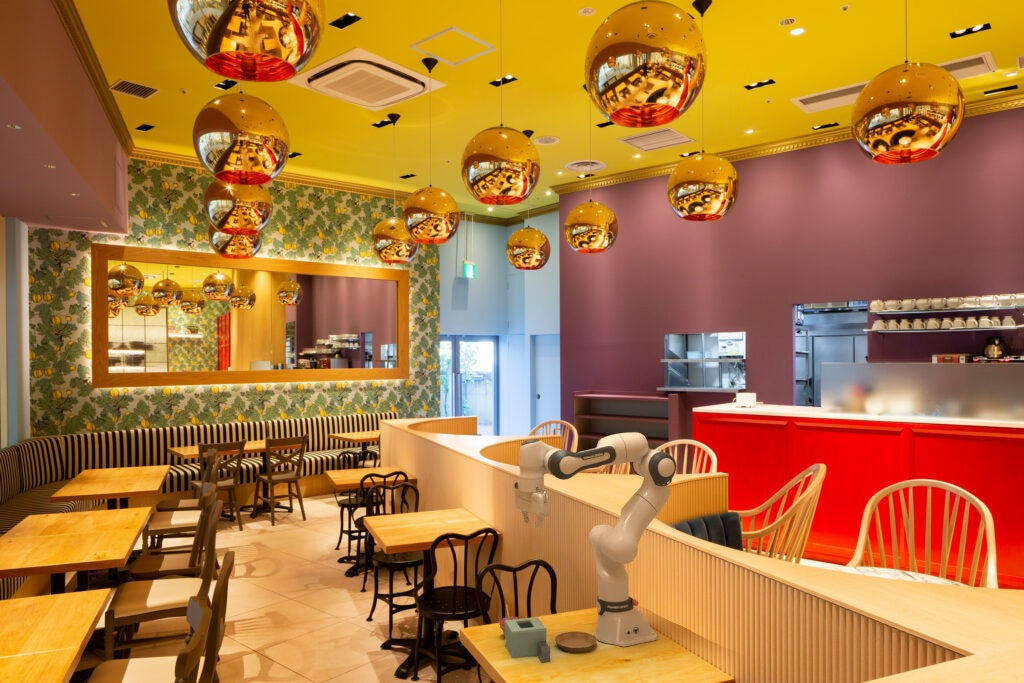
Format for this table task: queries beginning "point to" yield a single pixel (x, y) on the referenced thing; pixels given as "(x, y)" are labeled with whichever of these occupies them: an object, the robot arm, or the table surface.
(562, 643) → the plant saucer
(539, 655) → the block
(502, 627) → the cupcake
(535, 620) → the coin box
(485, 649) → the table surface
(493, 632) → the table surface
